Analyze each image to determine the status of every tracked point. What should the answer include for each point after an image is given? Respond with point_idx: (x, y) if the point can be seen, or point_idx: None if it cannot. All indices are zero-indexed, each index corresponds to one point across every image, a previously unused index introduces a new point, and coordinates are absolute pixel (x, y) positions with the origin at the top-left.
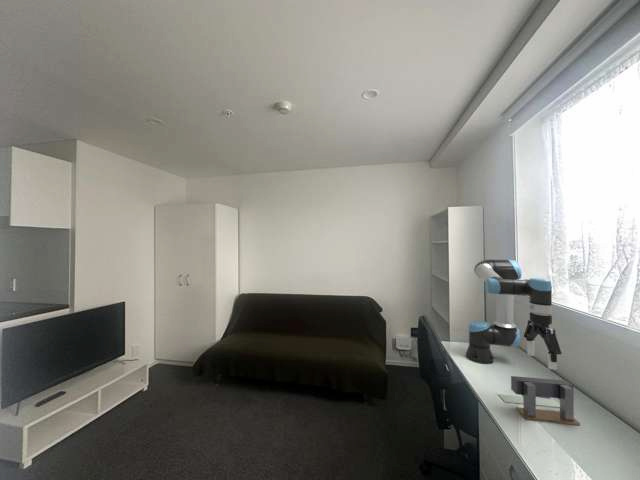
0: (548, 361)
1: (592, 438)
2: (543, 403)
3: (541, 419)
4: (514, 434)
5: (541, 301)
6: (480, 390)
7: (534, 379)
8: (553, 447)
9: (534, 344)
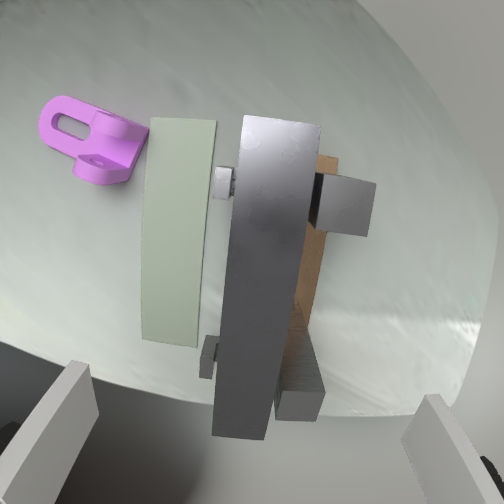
0: (427, 487)
1: (399, 182)
2: (191, 193)
3: (313, 297)
4: (359, 403)
5: None
6: (126, 377)
7: (242, 348)
8: (415, 340)
9: (22, 469)
